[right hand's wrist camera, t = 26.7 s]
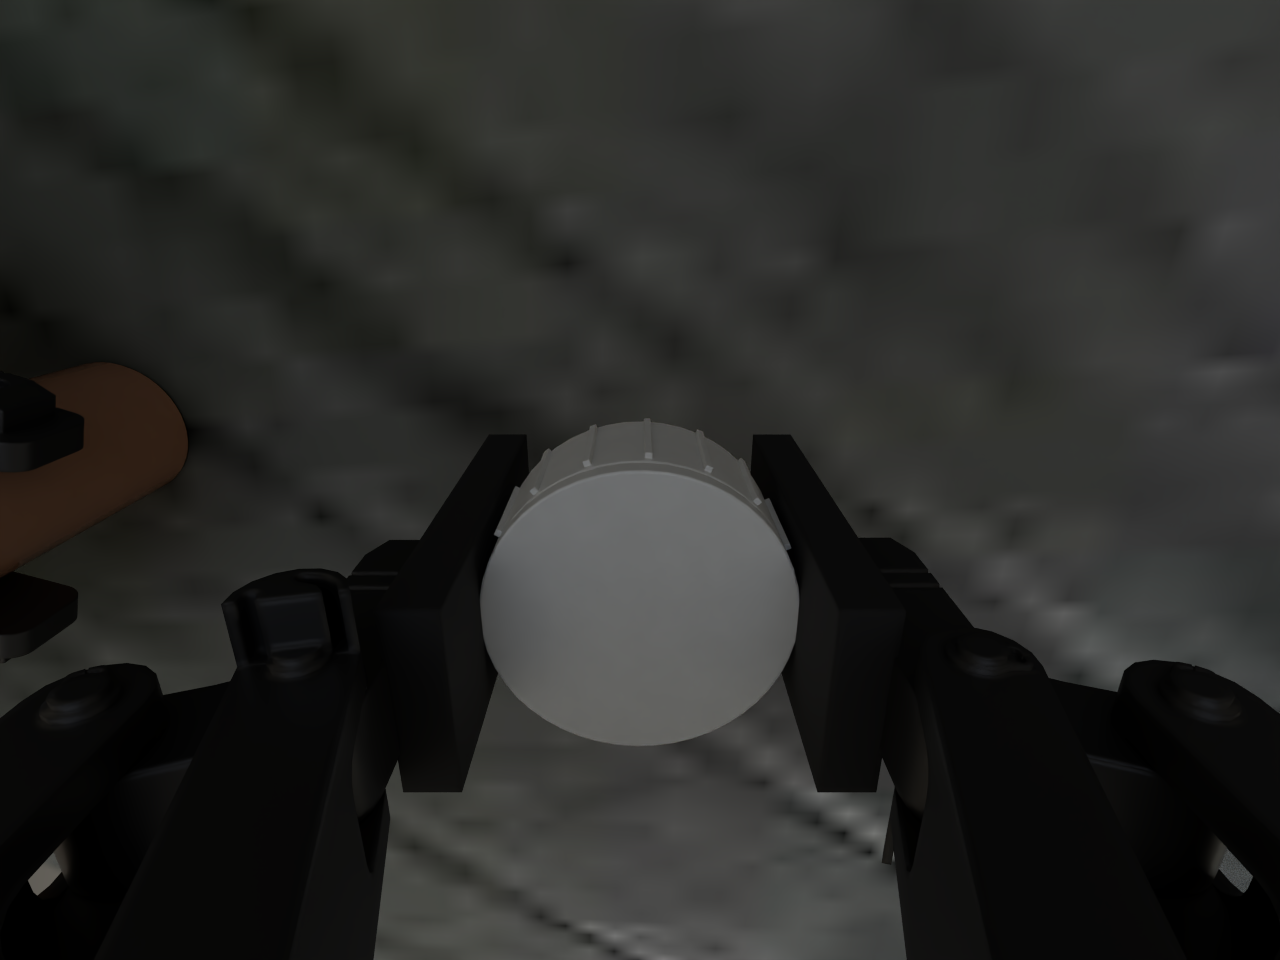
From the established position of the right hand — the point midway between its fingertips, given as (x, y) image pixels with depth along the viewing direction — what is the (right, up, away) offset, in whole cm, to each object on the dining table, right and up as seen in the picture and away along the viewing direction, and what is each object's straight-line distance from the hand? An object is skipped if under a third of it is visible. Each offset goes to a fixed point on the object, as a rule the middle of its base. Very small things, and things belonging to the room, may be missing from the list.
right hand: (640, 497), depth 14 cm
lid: (0, -2, -4) cm, 4 cm away
